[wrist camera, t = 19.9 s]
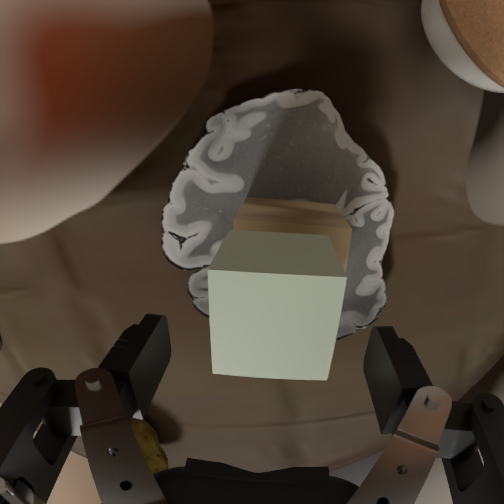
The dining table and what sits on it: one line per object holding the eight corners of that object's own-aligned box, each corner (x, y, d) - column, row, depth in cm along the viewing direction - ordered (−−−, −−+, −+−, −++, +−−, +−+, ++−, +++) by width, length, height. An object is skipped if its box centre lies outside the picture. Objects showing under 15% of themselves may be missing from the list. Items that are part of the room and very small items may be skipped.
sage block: (229, 314, 18) (212, 373, 13) (229, 229, 16) (207, 269, 11) (317, 320, 17) (326, 380, 13) (328, 235, 16) (346, 277, 11)
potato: (156, 401, 33) (134, 452, 25) (181, 457, 37) (168, 501, 30) (99, 392, 34) (72, 436, 26) (130, 448, 38) (113, 488, 31)
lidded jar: (404, 82, 19) (467, 60, 11) (395, -27, 16) (437, -80, 7) (505, 111, 18) (576, 114, 10) (494, 10, 15) (553, -15, 6)
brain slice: (137, 159, 24) (120, 163, 21) (335, 74, 20) (342, 66, 18) (233, 350, 30) (228, 370, 27) (404, 295, 26) (415, 311, 23)
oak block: (242, 277, 23) (230, 321, 18) (246, 197, 21) (233, 219, 16) (323, 283, 23) (334, 328, 17) (333, 204, 21) (352, 228, 15)
